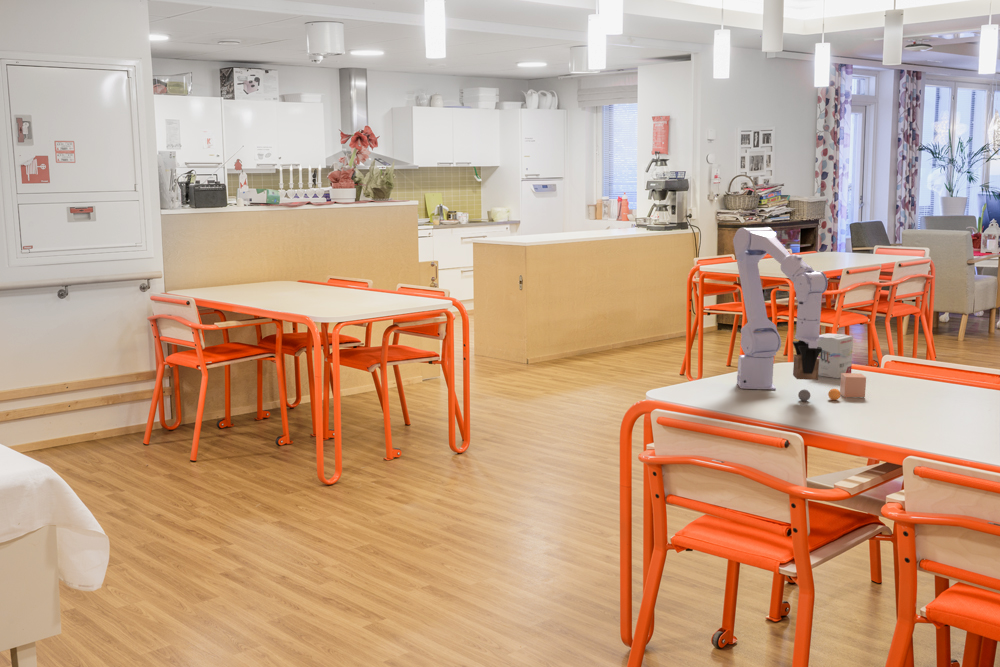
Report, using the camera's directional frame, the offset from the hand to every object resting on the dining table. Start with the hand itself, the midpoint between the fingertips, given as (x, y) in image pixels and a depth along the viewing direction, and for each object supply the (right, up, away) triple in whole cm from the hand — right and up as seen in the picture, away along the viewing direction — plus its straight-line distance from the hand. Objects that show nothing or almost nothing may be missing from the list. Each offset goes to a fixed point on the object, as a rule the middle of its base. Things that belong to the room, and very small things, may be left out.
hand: (805, 371), depth 243 cm
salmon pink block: (+15, -7, +7) cm, 18 cm away
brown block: (0, -2, 0) cm, 2 cm away
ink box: (+19, -3, +35) cm, 40 cm away
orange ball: (+8, -8, +2) cm, 11 cm away
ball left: (0, -8, +1) cm, 8 cm away
